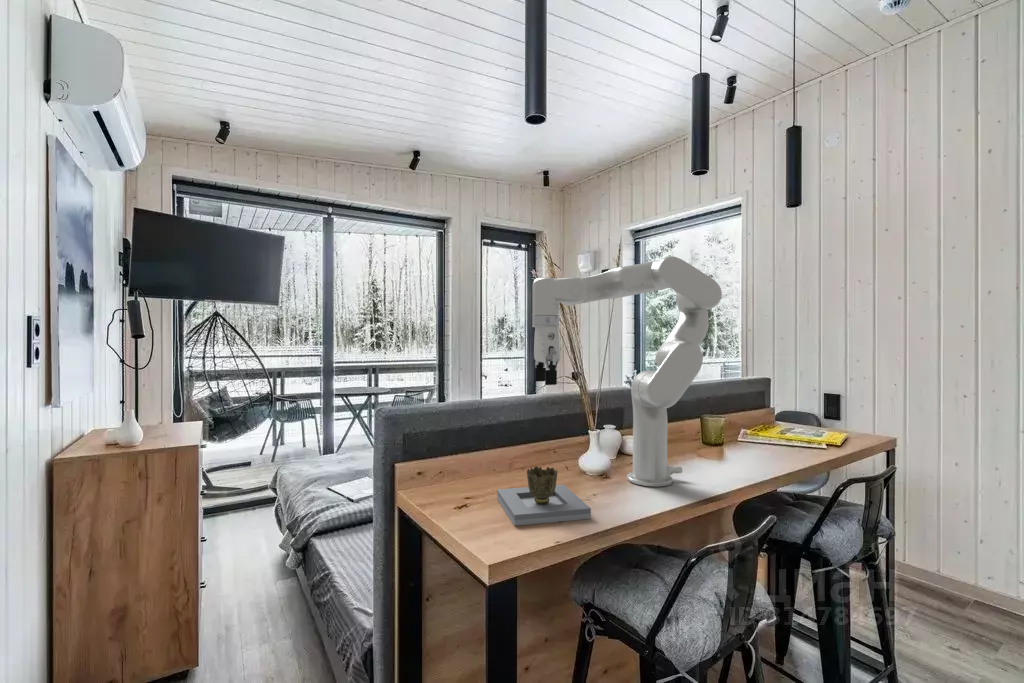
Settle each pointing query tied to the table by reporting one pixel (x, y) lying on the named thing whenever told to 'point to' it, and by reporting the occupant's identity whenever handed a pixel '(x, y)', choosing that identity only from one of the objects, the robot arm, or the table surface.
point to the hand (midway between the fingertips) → (545, 382)
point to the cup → (542, 483)
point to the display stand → (542, 506)
